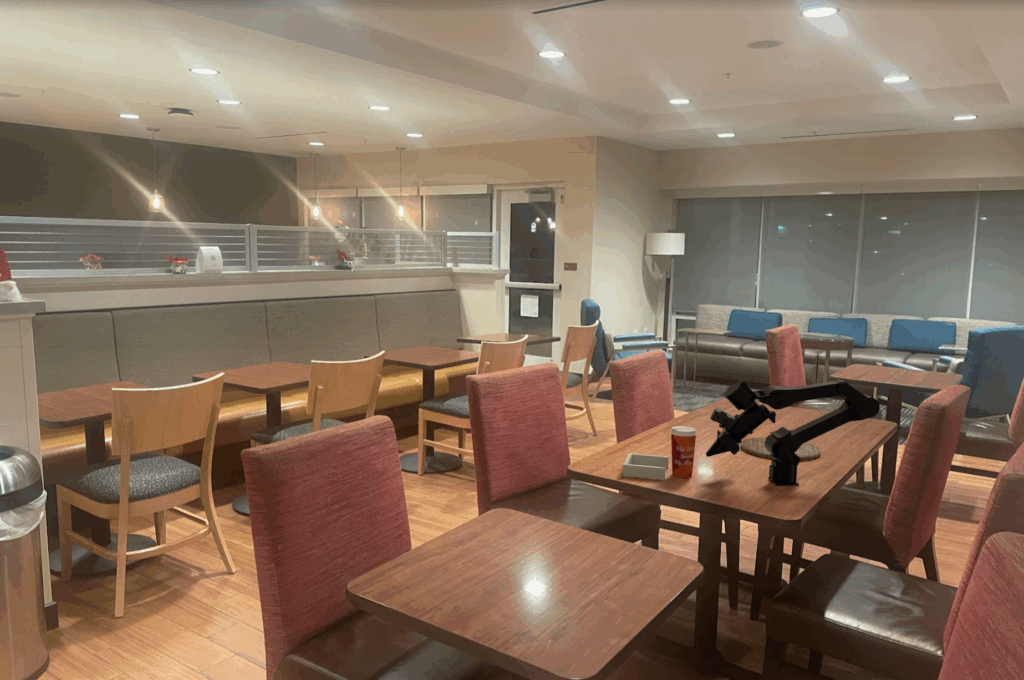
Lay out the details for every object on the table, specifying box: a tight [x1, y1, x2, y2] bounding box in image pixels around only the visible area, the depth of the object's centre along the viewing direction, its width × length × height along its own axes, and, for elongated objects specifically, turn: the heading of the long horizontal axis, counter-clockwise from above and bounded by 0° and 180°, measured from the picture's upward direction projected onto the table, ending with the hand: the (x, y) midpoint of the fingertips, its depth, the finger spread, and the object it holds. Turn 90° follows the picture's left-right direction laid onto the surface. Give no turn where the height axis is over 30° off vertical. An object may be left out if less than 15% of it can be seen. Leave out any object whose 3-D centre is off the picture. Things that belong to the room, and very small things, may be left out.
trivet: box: [740, 436, 822, 462], centre depth 235 cm, size 25×25×2 cm
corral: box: [622, 452, 670, 481], centre depth 209 cm, size 12×13×4 cm
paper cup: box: [669, 425, 698, 479], centre depth 206 cm, size 8×8×14 cm
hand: (706, 455), depth 204 cm, fingers closed
